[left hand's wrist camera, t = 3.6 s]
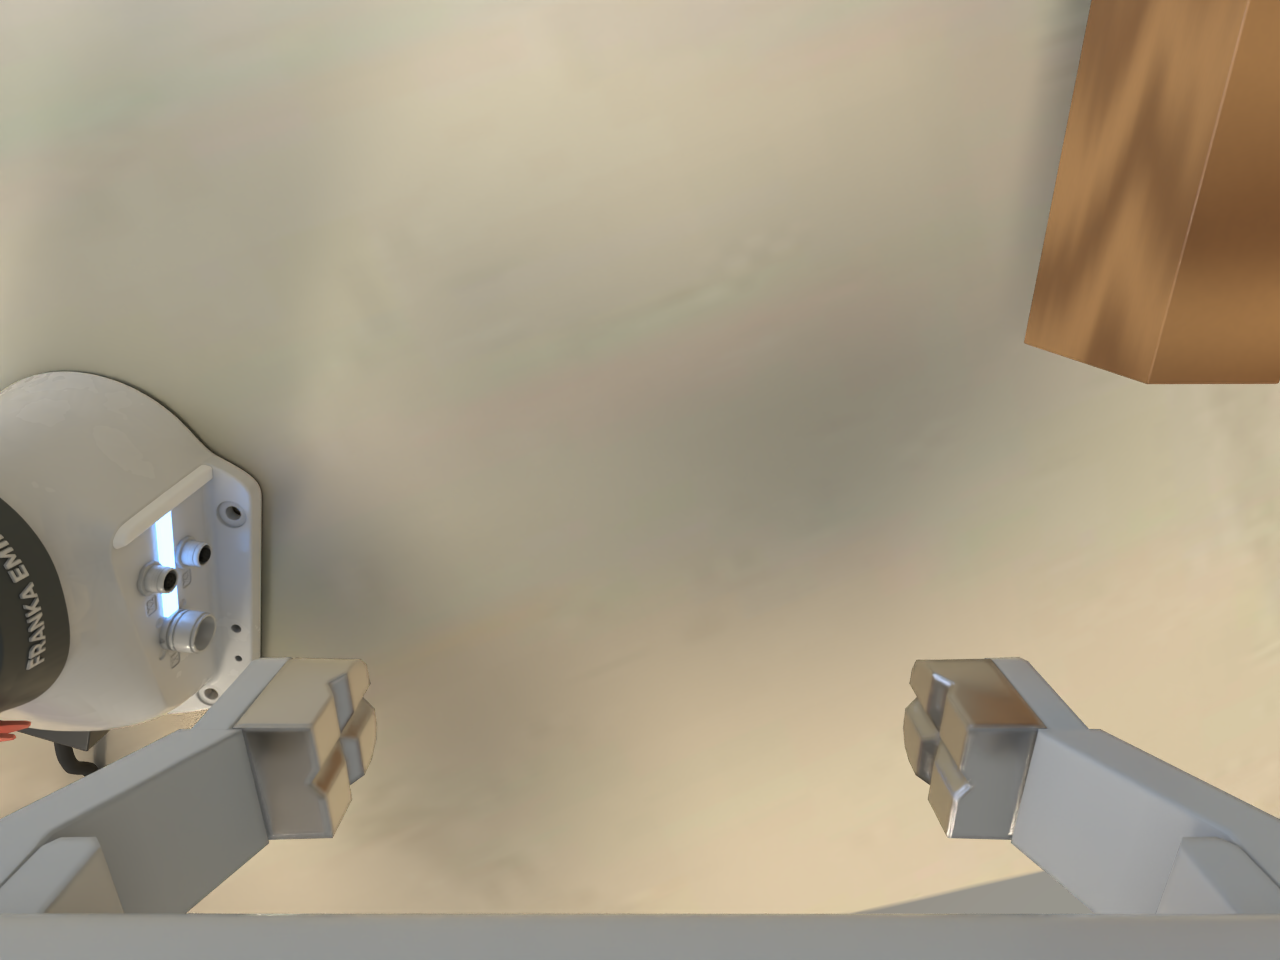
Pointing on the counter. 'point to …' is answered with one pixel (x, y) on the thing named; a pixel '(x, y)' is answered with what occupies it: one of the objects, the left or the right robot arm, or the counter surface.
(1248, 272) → the bar
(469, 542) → the counter surface
